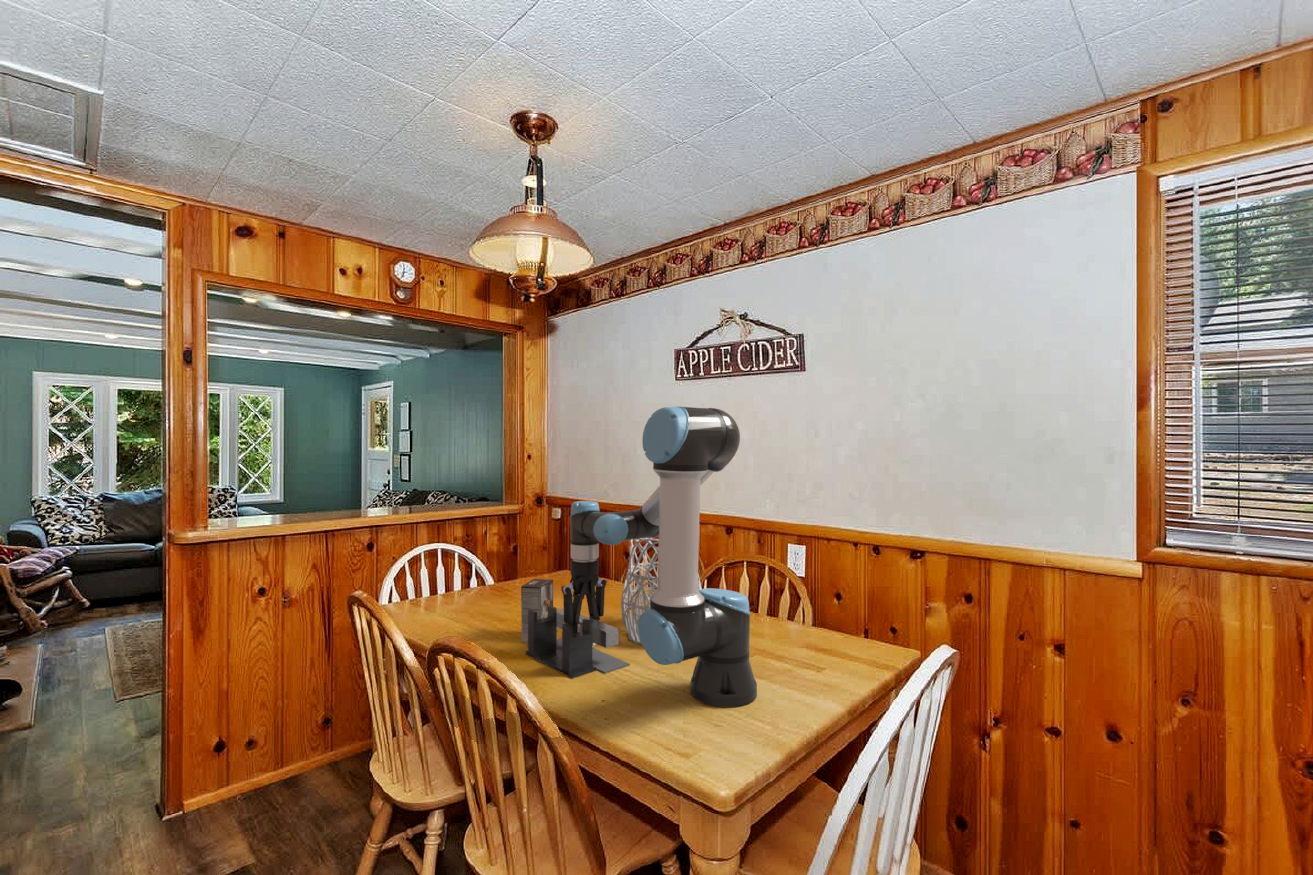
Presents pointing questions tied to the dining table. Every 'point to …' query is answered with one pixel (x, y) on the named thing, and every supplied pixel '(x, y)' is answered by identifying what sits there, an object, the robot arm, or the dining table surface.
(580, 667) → the rack
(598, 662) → the mat
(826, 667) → the dining table surface
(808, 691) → the dining table surface
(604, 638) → the rail
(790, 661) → the dining table surface
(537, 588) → the coffee box
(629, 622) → the vase
